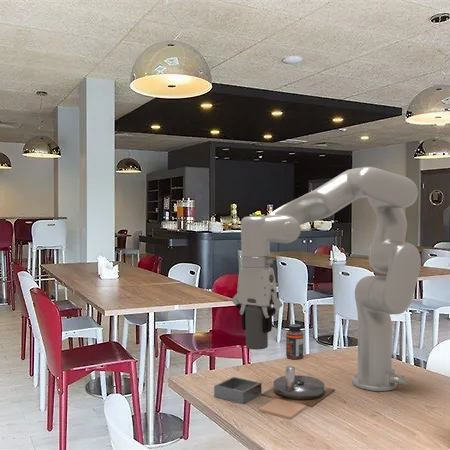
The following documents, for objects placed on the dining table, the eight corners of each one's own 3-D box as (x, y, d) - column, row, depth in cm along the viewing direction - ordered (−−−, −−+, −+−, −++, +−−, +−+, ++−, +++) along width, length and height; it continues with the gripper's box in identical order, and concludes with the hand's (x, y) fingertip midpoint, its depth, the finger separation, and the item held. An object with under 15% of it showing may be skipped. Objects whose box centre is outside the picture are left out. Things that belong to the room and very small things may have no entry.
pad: (306, 407, 130) (306, 405, 130) (290, 419, 122) (290, 416, 122) (276, 400, 135) (276, 398, 135) (258, 411, 127) (258, 408, 127)
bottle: (266, 350, 131) (265, 292, 131) (243, 349, 132) (243, 292, 132) (269, 344, 137) (268, 289, 136) (248, 343, 138) (247, 288, 138)
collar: (261, 393, 140) (261, 382, 140) (243, 404, 132) (243, 392, 132) (233, 387, 145) (233, 376, 145) (214, 396, 138) (214, 385, 138)
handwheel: (285, 379, 150) (285, 352, 150) (331, 387, 143) (331, 359, 143) (264, 393, 138) (264, 364, 138) (313, 403, 131) (313, 372, 130)
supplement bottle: (282, 356, 176) (282, 324, 176) (294, 354, 180) (294, 322, 179) (294, 360, 171) (294, 327, 171) (306, 357, 175) (307, 325, 175)
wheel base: (334, 390, 142) (334, 389, 142) (312, 407, 130) (312, 405, 130) (287, 380, 151) (287, 379, 151) (261, 395, 138) (261, 394, 138)
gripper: (291, 263, 132) (292, 331, 132) (237, 260, 142) (238, 324, 142) (276, 265, 126) (277, 337, 126) (221, 262, 136) (222, 329, 136)
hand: (256, 329), depth 134 cm, fingers closed on bottle, 5 cm apart
